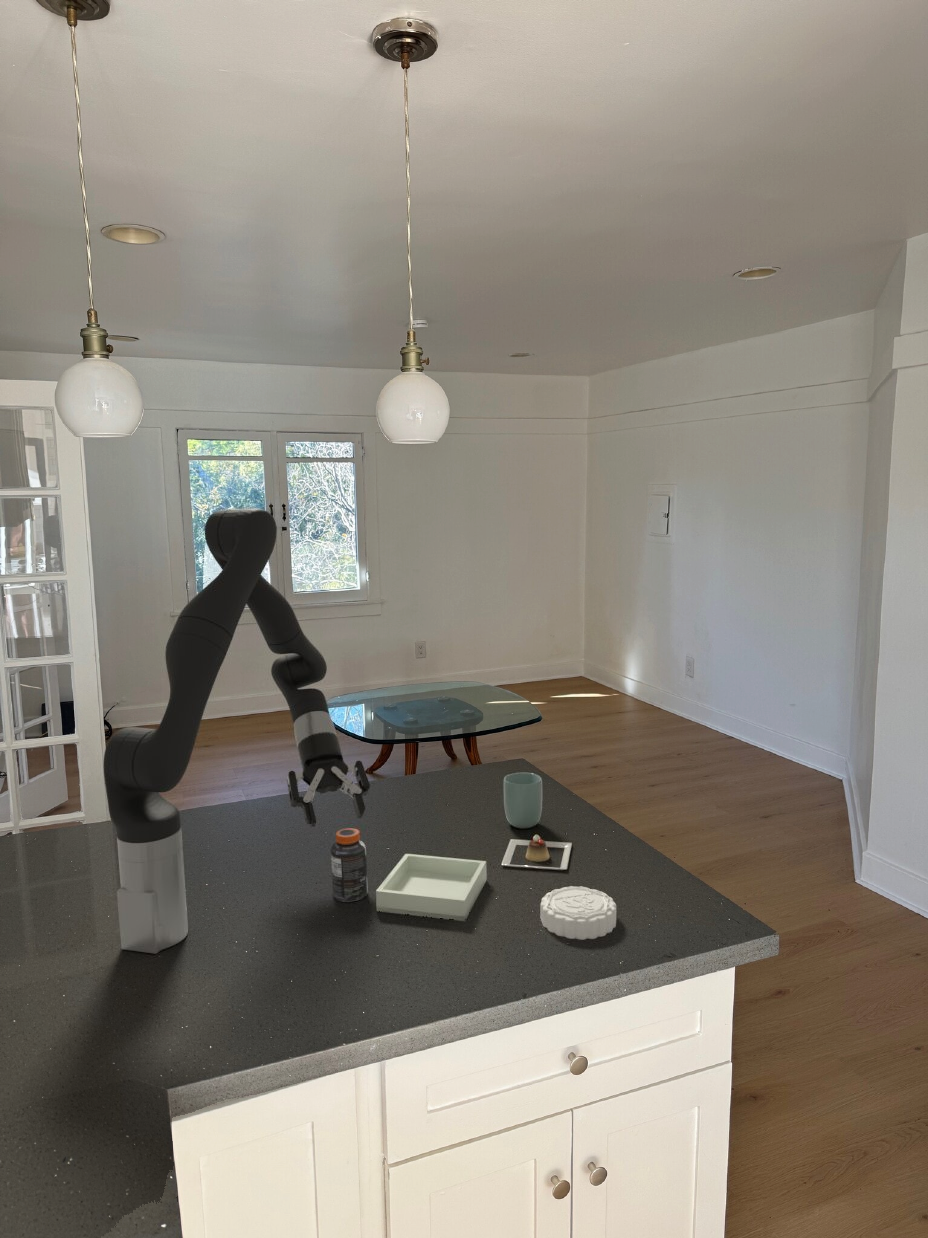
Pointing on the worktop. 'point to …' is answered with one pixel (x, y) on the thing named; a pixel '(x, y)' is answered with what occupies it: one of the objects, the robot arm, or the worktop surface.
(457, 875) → the tray
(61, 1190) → the worktop surface
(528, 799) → the cup
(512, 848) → the dessert
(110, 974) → the worktop surface
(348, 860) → the pill bottle
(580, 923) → the mooncake
